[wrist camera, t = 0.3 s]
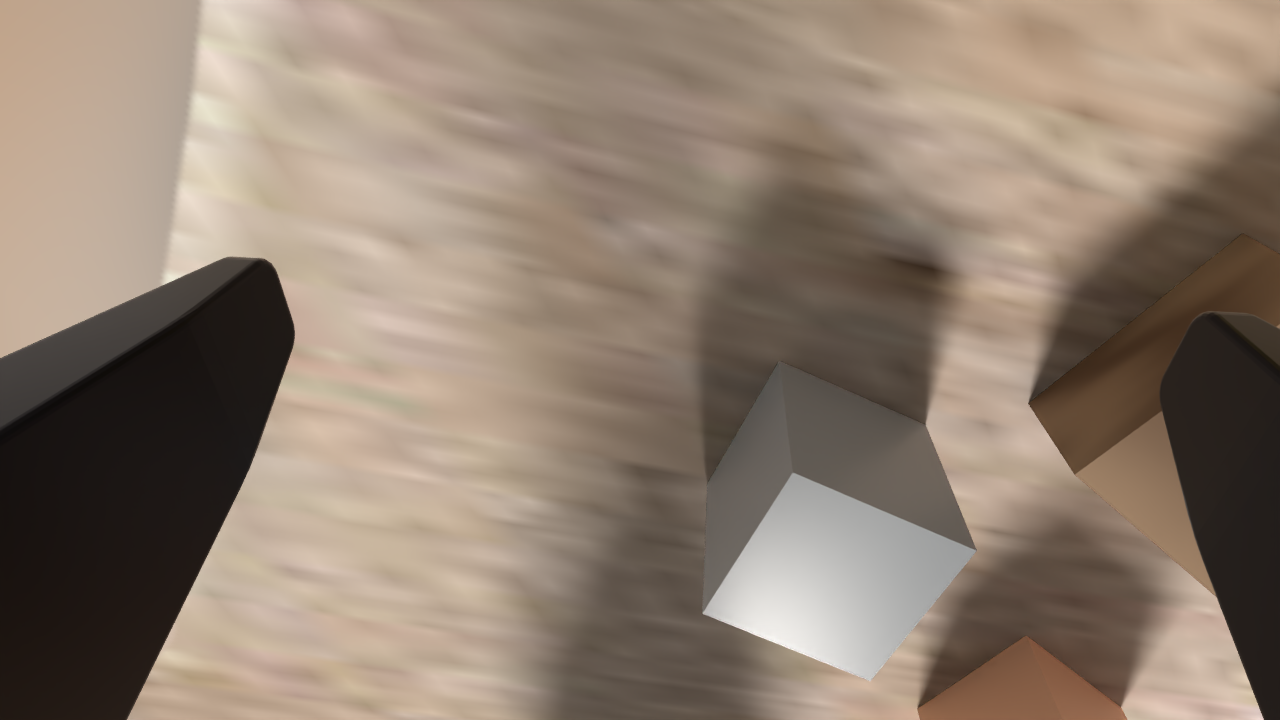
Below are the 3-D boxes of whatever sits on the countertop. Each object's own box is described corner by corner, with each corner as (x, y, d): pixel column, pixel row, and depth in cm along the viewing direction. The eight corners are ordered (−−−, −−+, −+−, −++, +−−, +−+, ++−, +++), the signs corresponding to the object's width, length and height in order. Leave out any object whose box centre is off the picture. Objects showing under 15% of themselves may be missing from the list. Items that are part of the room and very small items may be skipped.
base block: (1172, 528, 27) (1240, 618, 23) (1025, 399, 25) (1074, 474, 22) (1388, 384, 24) (1503, 462, 21) (1237, 230, 23) (1333, 284, 19)
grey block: (843, 539, 28) (870, 681, 23) (707, 482, 28) (702, 613, 22) (925, 424, 26) (976, 550, 20) (779, 359, 25) (792, 472, 20)
